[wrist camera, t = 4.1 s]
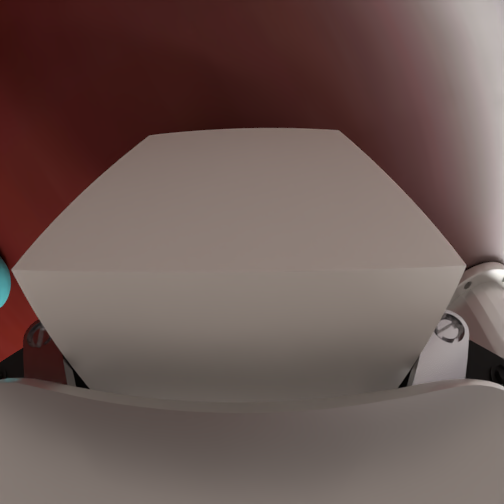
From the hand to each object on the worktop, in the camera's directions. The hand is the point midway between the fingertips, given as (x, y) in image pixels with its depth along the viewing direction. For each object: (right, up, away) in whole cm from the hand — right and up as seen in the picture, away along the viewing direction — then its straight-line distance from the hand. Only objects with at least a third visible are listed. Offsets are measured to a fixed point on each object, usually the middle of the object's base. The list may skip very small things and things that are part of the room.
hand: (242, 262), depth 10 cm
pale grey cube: (0, +2, +3) cm, 4 cm away
